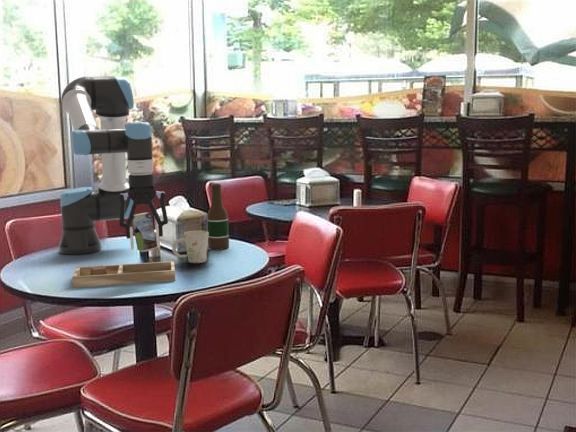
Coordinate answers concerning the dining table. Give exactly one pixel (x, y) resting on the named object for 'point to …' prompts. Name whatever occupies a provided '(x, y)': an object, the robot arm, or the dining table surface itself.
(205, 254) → the mug
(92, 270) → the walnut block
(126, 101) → the robot arm
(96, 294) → the dining table surface
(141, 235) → the beverage can
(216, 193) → the beer bottle
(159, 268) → the walled box
